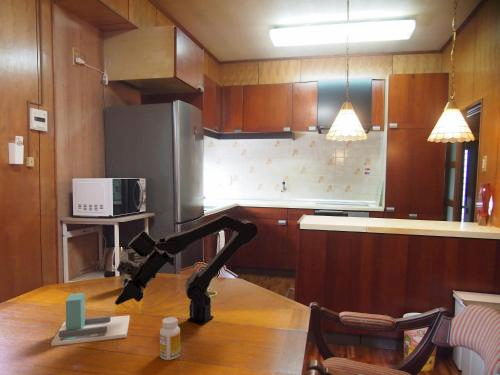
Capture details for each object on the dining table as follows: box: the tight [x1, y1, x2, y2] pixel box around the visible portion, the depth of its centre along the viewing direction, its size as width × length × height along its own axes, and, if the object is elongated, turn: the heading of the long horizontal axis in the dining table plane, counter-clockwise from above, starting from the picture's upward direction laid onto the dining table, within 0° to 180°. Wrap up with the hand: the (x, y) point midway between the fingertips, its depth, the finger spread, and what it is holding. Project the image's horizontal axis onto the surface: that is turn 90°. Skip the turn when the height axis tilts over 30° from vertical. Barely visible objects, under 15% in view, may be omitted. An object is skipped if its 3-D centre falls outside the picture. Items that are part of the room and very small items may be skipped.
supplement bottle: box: [159, 316, 181, 361], centre depth 93 cm, size 5×5×10 cm
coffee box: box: [121, 248, 149, 289], centre depth 148 cm, size 9×6×16 cm
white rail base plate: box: [51, 315, 131, 347], centre depth 107 cm, size 20×14×2 cm
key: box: [207, 286, 218, 298], centre depth 141 cm, size 7×12×2 cm, turn 29°
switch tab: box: [65, 292, 86, 330], centre depth 105 cm, size 4×6×10 cm, turn 15°
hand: (115, 303), depth 108 cm, fingers closed
